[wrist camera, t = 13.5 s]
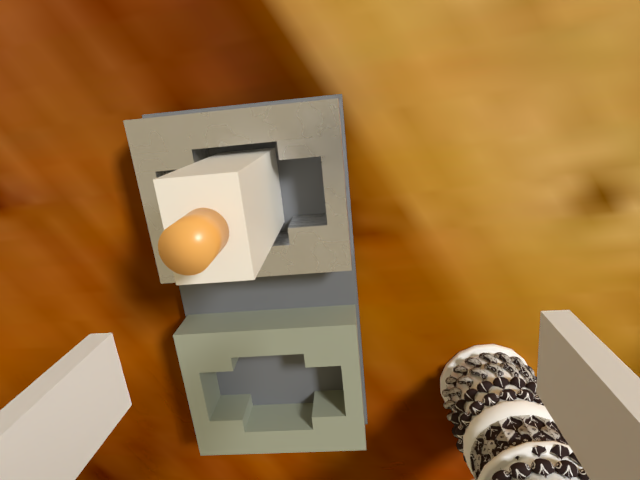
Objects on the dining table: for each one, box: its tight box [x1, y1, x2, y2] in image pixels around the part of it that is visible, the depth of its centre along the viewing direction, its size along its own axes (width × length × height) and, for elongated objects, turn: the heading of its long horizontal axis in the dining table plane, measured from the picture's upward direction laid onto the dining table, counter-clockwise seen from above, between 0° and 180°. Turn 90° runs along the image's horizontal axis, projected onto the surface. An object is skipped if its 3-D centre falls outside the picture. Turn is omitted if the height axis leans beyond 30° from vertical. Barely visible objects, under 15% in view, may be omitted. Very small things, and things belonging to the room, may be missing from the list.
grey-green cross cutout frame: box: [173, 305, 366, 455], centre depth 38 cm, size 12×15×4 cm
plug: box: [153, 148, 285, 285], centre depth 27 cm, size 6×4×15 cm
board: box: [142, 94, 368, 424], centre depth 37 cm, size 30×16×2 cm, turn 6°
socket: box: [123, 98, 352, 284], centre depth 33 cm, size 12×15×4 cm
